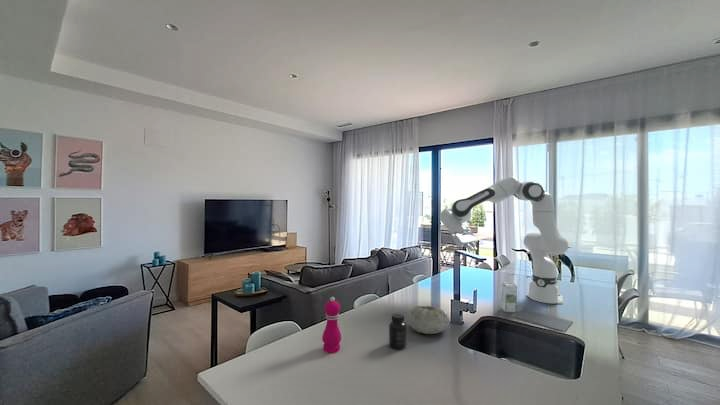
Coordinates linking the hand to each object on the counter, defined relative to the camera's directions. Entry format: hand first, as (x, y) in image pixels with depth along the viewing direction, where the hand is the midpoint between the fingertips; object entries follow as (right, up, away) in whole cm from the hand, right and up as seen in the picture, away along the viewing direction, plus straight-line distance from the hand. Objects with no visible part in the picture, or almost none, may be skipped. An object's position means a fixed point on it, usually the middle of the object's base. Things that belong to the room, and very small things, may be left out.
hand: (474, 250), depth 169 cm
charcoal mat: (+23, -30, -25) cm, 46 cm away
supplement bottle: (-51, -29, -54) cm, 80 cm away
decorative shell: (-36, -29, -39) cm, 60 cm away
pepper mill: (-77, -29, -57) cm, 100 cm away
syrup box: (+13, -30, -14) cm, 35 cm away
